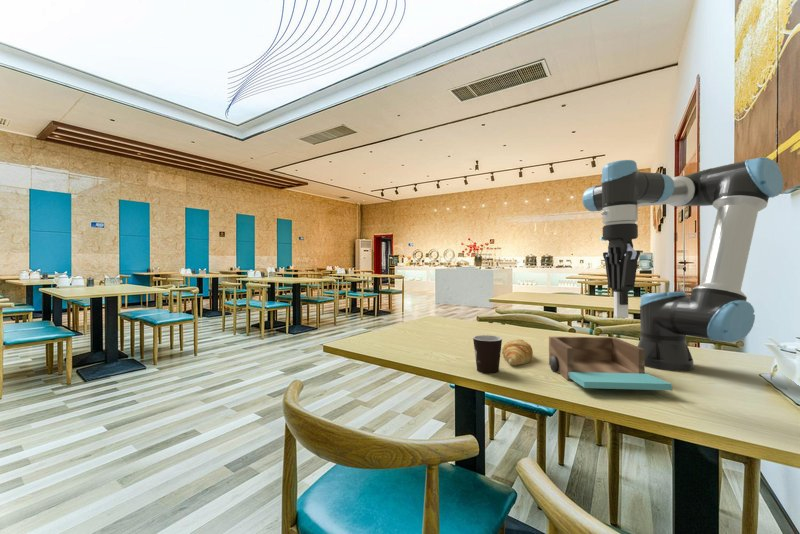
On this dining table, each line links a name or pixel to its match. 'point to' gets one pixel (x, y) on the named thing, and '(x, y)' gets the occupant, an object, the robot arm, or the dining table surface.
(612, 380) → the tailgate
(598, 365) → the cart
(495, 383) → the dining table surface
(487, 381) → the dining table surface
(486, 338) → the coffee mug
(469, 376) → the dining table surface
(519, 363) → the croissant
